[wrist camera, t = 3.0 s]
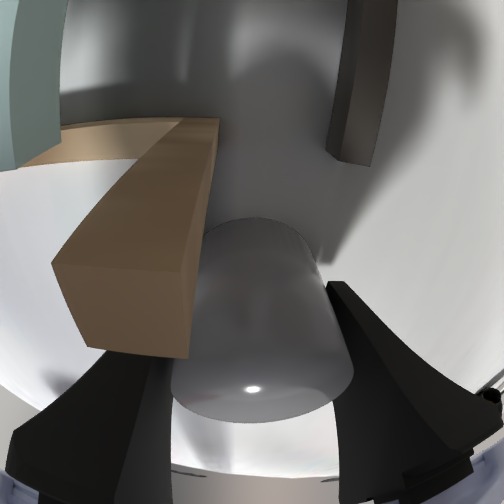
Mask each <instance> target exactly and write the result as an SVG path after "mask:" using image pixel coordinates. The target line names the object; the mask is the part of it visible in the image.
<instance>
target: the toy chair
mask: <svg viewBox="0 0 504 504" xmlns="http://www.w3.org/2000/svg"><path fill="white" fill-rule="evenodd" d="M397 4H398V0H348V8H347V17H346V25H345V33H344V41H343V48H342V55H341V62H340V69H339V75H338V82H337V88H336V94H335V100H334V106H333V111H332V117H331V122H330V128H329V133H328V138H327V143H326V148H325V150H326V151H327V152H329V153H330V154H331V155H332V156H333V157H334V158H336V159H337V160H338V161H341V162H347V163H352V164H358V165H363V166H368V167H370V164H371V160H372V156H373V152H374V148H375V144H376V140H377V135H378V131H379V126H380V122H381V117H382V112H383V107H384V102H385V97H386V91H387V86H388V80H389V74H390V67H391V60H392V53H393V45H394V37H395V28H396V17H397ZM219 123H220V118H199V117H152V118H130V119H115V120H104V121H94V122H85V123H77V124H70V125H63V126H60V127H61V141H62V142H61V143H60V144H58V145H56V146H54V147H52V148H51V149H49V150H47V151H45V152H44V153H42V154H40V155H38V156H37V157H35V158H33V159H32V160H30V161H29V162H27V163H25V164H24V165H22V166H21V167H28V166H36V165H44V164H54V163H64V162H76V161H91V160H111V159H138V160H137V161H136V162H135V163H134V164H133V165H132V166H131V167H130V168H129V169H128V171H127V172H126V173H125V174H124V175H123V176H122V177H121V178H120V179H119V180H118V181H117V182H116V183H115V184H114V185H113V186H112V187H111V188H110V190H109V191H108V192H107V193H106V194H105V195H104V196H103V197H102V199H101V200H100V201H99V202H98V203H97V204H96V205H95V207H94V208H93V209H92V210H91V211H90V212H89V214H88V215H87V216H86V217H85V219H84V220H83V221H82V222H81V223H80V225H79V226H78V227H77V228H76V230H75V231H74V232H73V234H72V235H71V236H70V237H69V239H68V240H67V241H66V243H65V244H64V245H63V247H62V248H61V249H60V251H59V252H58V254H57V255H56V256H55V258H54V259H53V261H52V262H51V265H52V268H53V270H54V273H55V276H56V278H57V281H58V284H59V286H60V289H61V291H62V294H63V296H64V299H65V301H66V303H67V306H68V308H69V310H70V312H71V315H72V317H73V319H74V321H75V323H76V325H77V327H78V329H79V331H80V333H81V335H82V337H83V339H84V341H85V343H86V345H87V347H91V348H97V349H103V350H109V351H116V352H123V353H131V354H139V355H148V356H157V357H168V358H181V359H188V357H189V346H190V336H191V326H192V317H193V308H194V299H195V290H196V282H197V275H198V267H199V259H200V252H201V245H202V238H203V232H204V225H205V219H206V212H207V206H208V200H209V194H210V188H211V182H212V177H213V171H214V166H215V160H216V155H217V148H218V135H219ZM21 167H19V168H21Z"/></svg>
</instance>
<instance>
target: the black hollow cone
mask: <svg viewBox="0 0 504 504" xmlns="http://www.w3.org/2000/svg"><path fill="white" fill-rule="evenodd" d="M477 396H479V397H481V398H483V399H485V400H487V401H489V402H491V403H493V404H495V405H496V406H497V408H498V411H499V413H500V415H501V417H502V401H501V393H500V391H499V390H497V389H494V388H488V389H486V390H485V391H484V392H481V393H480V394H478V395H477Z"/></svg>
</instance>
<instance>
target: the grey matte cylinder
mask: <svg viewBox="0 0 504 504" xmlns="http://www.w3.org/2000/svg"><path fill="white" fill-rule="evenodd" d="M353 374H354V369H353V364H352V361H351V358H350V355H349V352H348V349H347V346H346V343H345V340H344V338H343V335H342V332H341V329H340V326H339V324H338V321H337V318H336V315H335V312H334V310H333V307H332V304H331V302H330V299H329V296H328V294H327V291H326V288H325V286H324V283H323V281H322V278H321V275H320V273H319V270H318V268H317V265H316V263H315V260H314V258H313V255H312V253H311V250H310V248H309V246H308V244H307V243H306V241H305V240H304V239H303V238H302V236H301V235H300V234H299V233H297V232H296V231H295V230H293V229H292V228H290V227H289V226H287V225H285V224H283V223H280V222H278V221H274V220H270V219H264V218H243V219H237V220H233V221H229V222H227V223H224V224H221V225H219V226H217V227H215V228H214V229H212V230H211V231H209V232H208V233H207V234H205V235H204V236H203V238H202V245H201V252H200V259H199V267H198V275H197V282H196V290H195V299H194V308H193V317H192V326H191V336H190V346H189V357H188V359H181V358H174V360H173V368H172V377H171V392H172V394H173V396H174V398H175V399H176V400H177V401H178V402H179V403H180V404H181V405H182V406H183V407H185V408H186V409H188V410H190V411H192V412H194V413H196V414H198V415H201V416H204V417H207V418H210V419H214V420H219V421H225V422H233V423H265V422H274V421H280V420H285V419H289V418H293V417H297V416H300V415H303V414H306V413H309V412H311V411H314V410H316V409H318V408H320V407H322V406H324V405H326V404H328V403H329V402H331V401H332V400H334V399H335V398H337V397H338V396H339V395H340V394H341V393H342V392H343V391H344V390H345V389H346V388H347V387H348V385H349V384H350V382H351V380H352V378H353Z"/></svg>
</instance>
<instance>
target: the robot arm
mask: <svg viewBox="0 0 504 504" xmlns="http://www.w3.org/2000/svg"><path fill="white" fill-rule="evenodd" d="M326 291H327V294H328V296H329V299H330V302H331V304H332V307H333V310H334V312H335V315H336V318H337V321H338V324H339V326H340V329H341V332H342V335H343V338H344V340H345V343H346V346H347V349H348V352H349V355H350V358H351V361H352V364H353V369H354V374H353V378H352V380H351V382H350V384H349V385H348V387H347V388H346V389H345V390H344V391H343V392H342V393H341V394H340V395H339V396H338V397H337V398H335V399H334V400H332V401H333V405H334V412H335V419H336V426H337V436H338V447H339V503H340V504H359V503H363V502H367V501H370V500H374V504H500V503H501V502H502V501H503V500H504V438H502V439H501V440H499V441H498V442H497V443H495V444H494V445H492V446H490V447H489V448H487V449H486V450H483V451H482V452H480V453H478V454H476V455H475V456H473V457H471V458H470V456H472V455H473V454H474V450H473V447H475V446H476V445H478V444H480V443H481V442H482V441H484V440H485V439H487V438H488V437H490V436H491V435H493V434H494V433H495V432H497V431H498V430H499V429H501V428H502V427H503V425H504V423H503V421H502V418H501V415H500V413H499V411H498V408H497V406H496V405H495V404H493V403H491V402H489V401H487V400H485V399H483V398H481V397H479V396H477V395H475V394H473V393H471V392H469V391H468V390H466V389H464V388H462V387H461V386H459V385H457V384H456V383H454V382H453V381H451V380H450V379H448V378H447V377H445V376H444V375H443V374H441V373H440V372H438V371H437V370H436V369H434V368H433V367H432V366H430V365H429V364H428V363H427V362H425V361H424V360H423V359H422V358H421V357H419V356H418V355H417V354H416V353H415V352H414V351H412V350H411V349H410V348H409V347H408V346H407V345H406V344H405V343H404V342H403V341H402V340H401V339H400V338H398V337H397V336H396V335H395V334H394V333H393V332H392V331H391V330H390V329H389V328H388V327H387V326H386V325H385V324H384V323H383V322H382V321H381V319H380V318H379V317H378V316H377V315H376V314H375V313H374V312H373V311H372V310H371V309H370V308H369V307H368V306H367V305H366V304H365V303H364V301H363V300H362V299H361V298H360V297H359V296H358V295H357V294H356V293H355V292H354V291H353V290H352V289H351V288H350V287H349V286H348V285H347V284H346V283H345V282H344V281H328V283H327V286H326ZM173 360H174V358H168V357H157V356H148V355H139V354H131V353H123V352H116V351H109V350H106V352H105V353H104V354H103V355H102V356H101V357H100V358H99V359H98V360H97V361H96V363H95V364H94V365H93V366H92V367H91V368H90V369H89V370H88V371H87V372H86V373H85V374H84V375H83V376H82V377H81V378H80V379H79V380H78V381H77V382H76V383H74V384H73V385H72V386H71V387H70V388H69V389H68V390H67V391H66V392H64V393H63V394H62V395H61V396H60V397H58V398H57V399H56V400H55V401H54V402H52V403H51V404H50V405H49V406H48V407H46V408H45V409H44V410H43V411H41V412H40V413H38V414H37V415H36V416H34V417H33V418H31V419H30V420H29V421H27V422H26V423H24V424H23V425H21V426H20V427H18V428H17V429H15V430H14V431H13V434H12V437H11V441H10V445H9V450H8V455H7V461H6V467H5V471H3V470H1V469H0V504H173V499H172V484H171V415H172V403H173V394H172V392H171V377H172V368H173Z"/></svg>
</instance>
